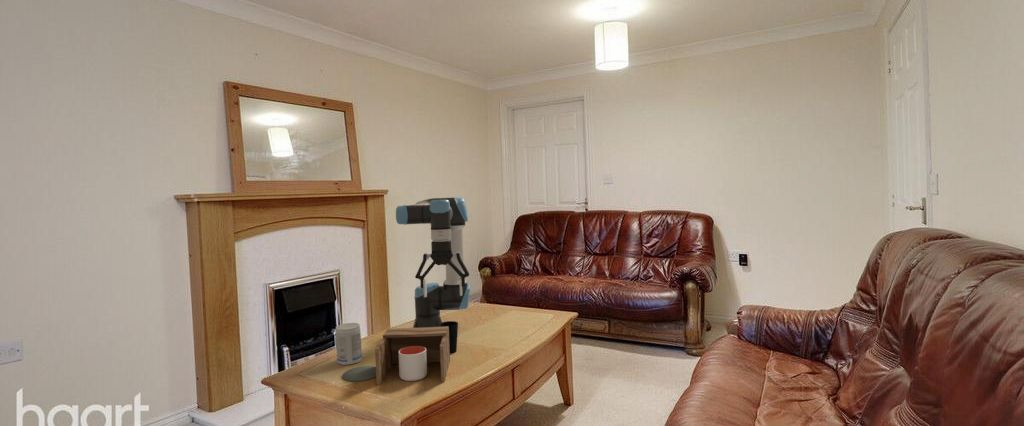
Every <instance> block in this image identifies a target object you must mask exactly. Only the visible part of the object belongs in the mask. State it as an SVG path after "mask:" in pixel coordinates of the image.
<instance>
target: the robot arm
mask: <svg viewBox="0 0 1024 426" xmlns="http://www.w3.org/2000/svg"><path fill="white" fill-rule="evenodd" d="M395 220H396V223H397V224H398V225H419V224H420V225H422V224H424V225H425V224H427V225H428V224H430V239H431V240H432V241H431V253H428V252H427V253H426V252H425V253H424V254H423V256H422V261H421V263H420V266H419V268H418V270H417V272H416V274H415V279H418V280H420V285H418V286H417V287H415V289H414V311H415V318H414V322H413V327H412V328H421V327H440V323H442V322H443V319H442V318H441V311H460V310H466V309H468V307H469V305H470V299H471V298H470V297H471V285H470V284H468V281H467V279H466V278H467V277H469V276H470V272H469V270H468V269H467V266H466V265H465V263H464V242H463V241H464V240H463V229H464V227H466V223H467V222H468V221H469V214H468V209H467V204H466V200H465V198H464V197H435V198H434V197H433V198H428V199H423V200H420V201H417V202H416V203H415V204H410V205H406V204H405V205H404V204H403V205H398V206H397V207H396V208H395ZM430 258H431V260H432V262H431V264H430V265H429V266H428V268H427V269H426V270H425V271H424V273H422V272H423V269H424V268H425V264H426V263H427V260H429V259H430ZM435 265H437V266H445V280H444V281H443V282H442V285H440V284H439V282H428V283H427V278H426V276H427V275H428V274H429V273H430V271H431V270H432V269H433V267H434V266H435ZM421 273H422V275H421Z"/></svg>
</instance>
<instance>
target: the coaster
mask: <svg viewBox="0 0 1024 426" xmlns="http://www.w3.org/2000/svg"><path fill="white" fill-rule="evenodd" d="M375 378H376V365H375V366H374V365H363V366H357V367H353V368H351V369H348V370H346V371H344V372H343V373H342V379H343V380H344V381H347V382H357V383H358V382H364V381H369V380H372V379H375Z"/></svg>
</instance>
